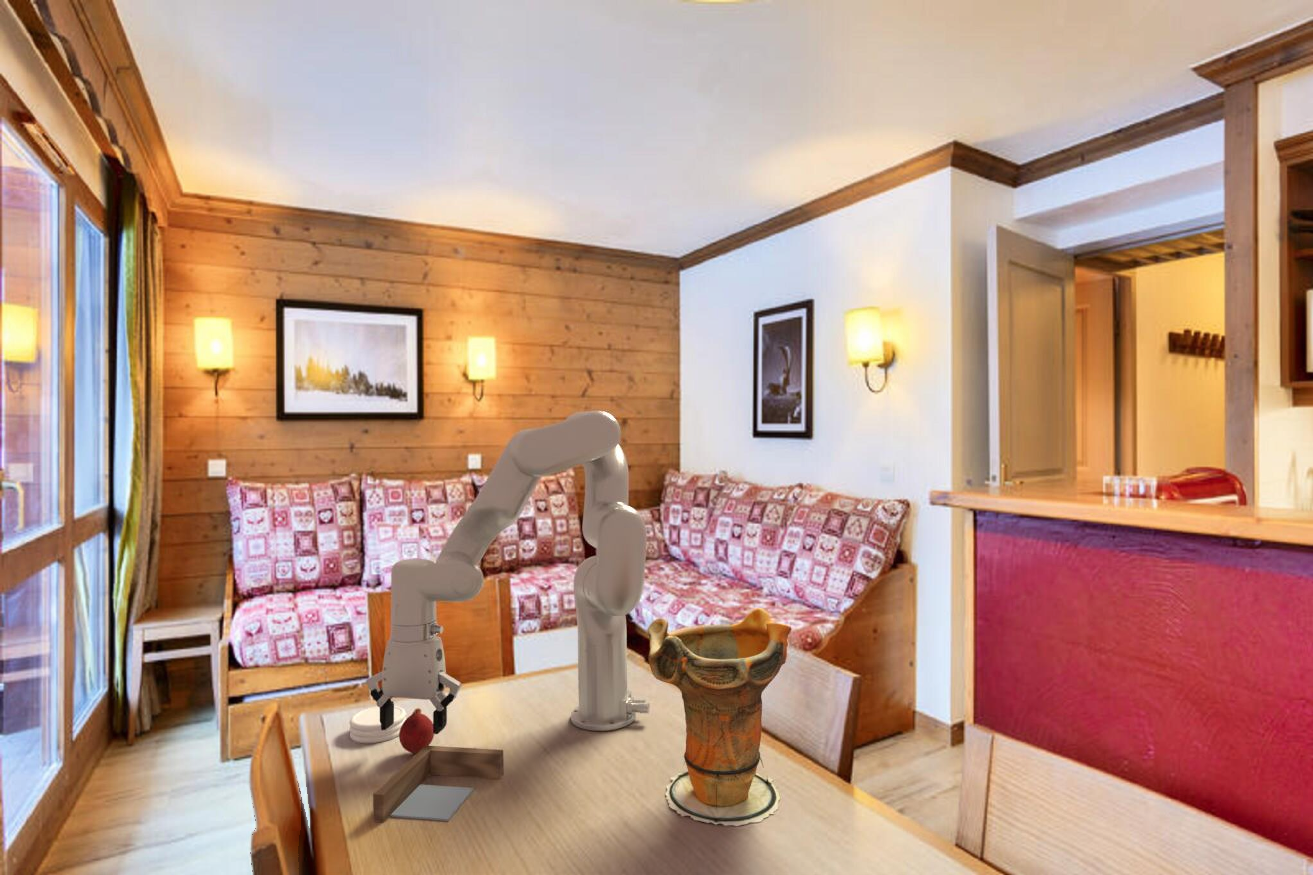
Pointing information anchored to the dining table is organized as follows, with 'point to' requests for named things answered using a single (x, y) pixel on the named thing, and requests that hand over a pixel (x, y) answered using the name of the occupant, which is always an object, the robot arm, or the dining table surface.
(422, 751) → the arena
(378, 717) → the coaster
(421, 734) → the onion
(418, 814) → the pad
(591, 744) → the dining table surface
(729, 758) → the decorative vase
